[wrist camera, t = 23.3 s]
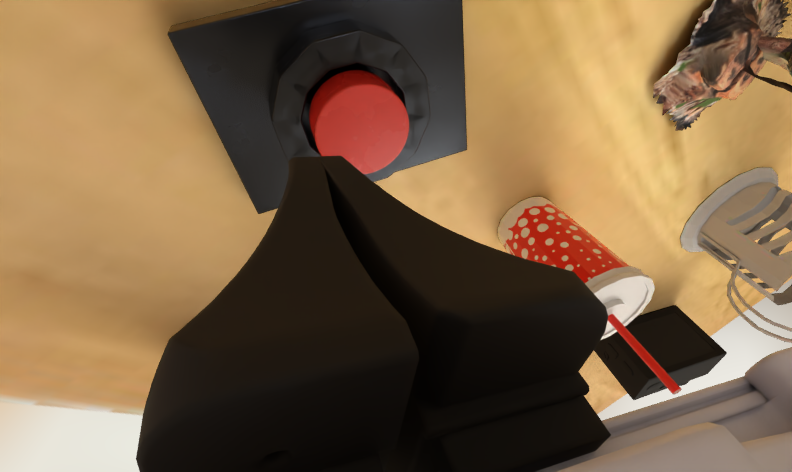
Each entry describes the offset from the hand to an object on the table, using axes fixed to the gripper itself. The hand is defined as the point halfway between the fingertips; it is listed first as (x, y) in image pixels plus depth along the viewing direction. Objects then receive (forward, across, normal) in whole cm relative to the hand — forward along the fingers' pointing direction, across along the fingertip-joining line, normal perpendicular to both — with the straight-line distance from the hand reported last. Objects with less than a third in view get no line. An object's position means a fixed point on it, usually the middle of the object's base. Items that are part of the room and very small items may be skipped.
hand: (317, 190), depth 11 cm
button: (+8, -3, +1) cm, 8 cm away
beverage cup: (+10, -17, +11) cm, 23 cm away
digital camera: (+10, -39, +29) cm, 50 cm away
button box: (+10, -3, +1) cm, 11 cm away
